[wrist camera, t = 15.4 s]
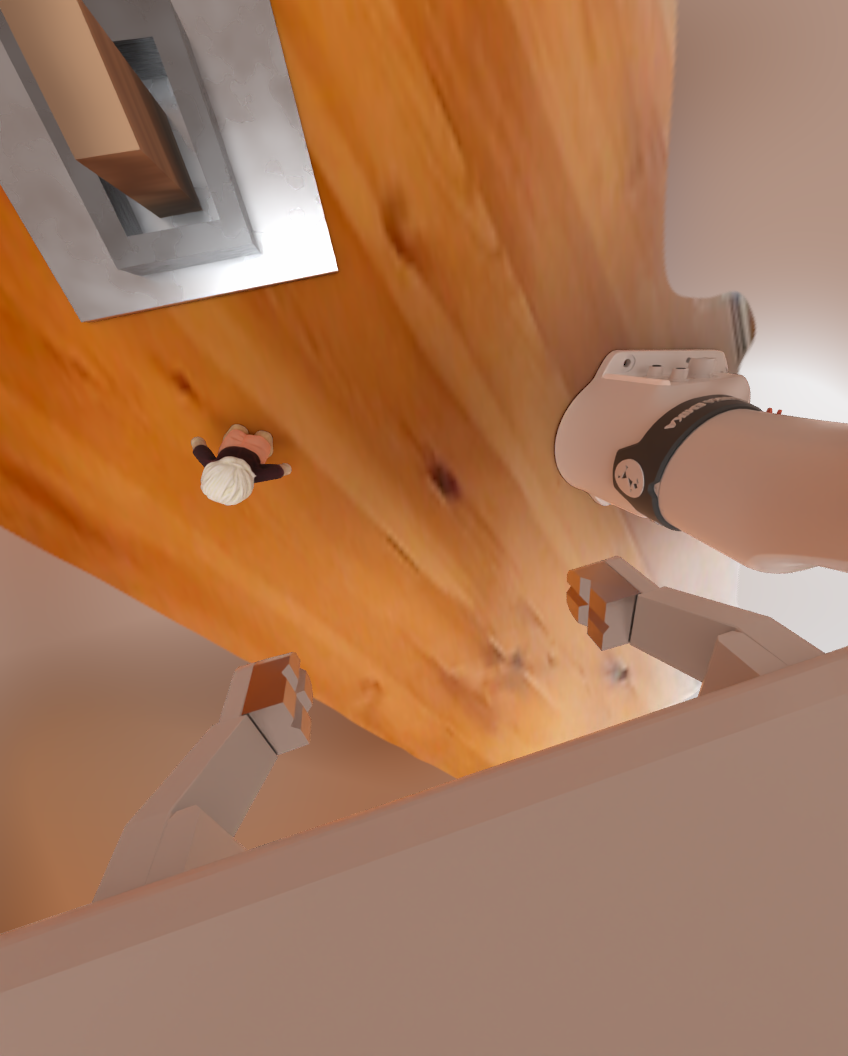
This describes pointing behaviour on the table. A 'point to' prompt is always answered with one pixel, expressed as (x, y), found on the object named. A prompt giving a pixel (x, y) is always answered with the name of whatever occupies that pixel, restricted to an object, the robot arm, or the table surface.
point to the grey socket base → (207, 150)
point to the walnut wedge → (102, 104)
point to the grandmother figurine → (237, 464)
